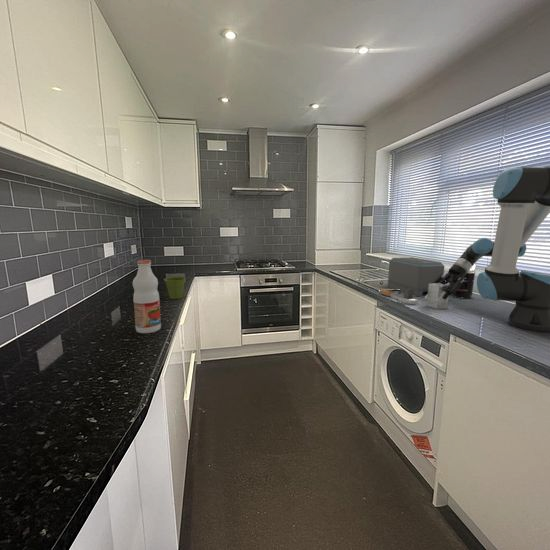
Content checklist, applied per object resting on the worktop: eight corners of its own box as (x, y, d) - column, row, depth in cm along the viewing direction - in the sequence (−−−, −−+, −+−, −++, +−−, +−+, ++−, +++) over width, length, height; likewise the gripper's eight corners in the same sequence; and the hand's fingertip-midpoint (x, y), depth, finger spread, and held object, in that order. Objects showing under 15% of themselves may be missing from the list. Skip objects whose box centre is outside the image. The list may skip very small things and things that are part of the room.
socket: (447, 308, 152) (449, 285, 150) (436, 309, 150) (439, 286, 148) (437, 304, 158) (439, 283, 156) (426, 305, 156) (428, 283, 154)
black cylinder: (453, 293, 184) (457, 254, 180) (472, 296, 178) (477, 255, 174) (451, 297, 176) (456, 255, 171) (471, 299, 170) (477, 256, 165)
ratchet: (422, 304, 159) (423, 290, 157) (406, 305, 156) (407, 291, 155) (390, 293, 184) (391, 281, 183) (376, 294, 182) (377, 282, 180)
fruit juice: (141, 325, 122) (136, 258, 117) (164, 325, 122) (160, 258, 118) (131, 333, 113) (125, 261, 108) (156, 333, 113) (151, 261, 108)
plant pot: (170, 295, 174) (169, 276, 173) (189, 295, 173) (189, 277, 172) (161, 300, 163) (160, 280, 161) (182, 300, 162) (181, 280, 160)
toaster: (406, 284, 212) (408, 256, 209) (442, 295, 180) (446, 262, 177) (383, 285, 208) (385, 257, 204) (416, 296, 176) (419, 263, 172)
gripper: (480, 276, 146) (452, 310, 144) (447, 270, 165) (421, 300, 163) (474, 266, 144) (444, 301, 142) (440, 261, 162) (414, 292, 160)
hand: (432, 300), depth 152 cm, fingers closed on socket, 7 cm apart
